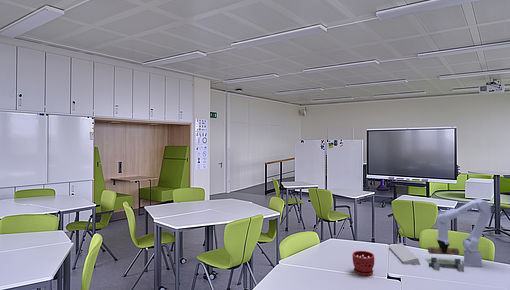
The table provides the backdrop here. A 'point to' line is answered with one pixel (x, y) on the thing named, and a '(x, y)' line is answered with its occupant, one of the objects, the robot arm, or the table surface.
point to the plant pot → (363, 262)
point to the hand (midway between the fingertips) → (443, 252)
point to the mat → (443, 261)
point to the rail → (439, 251)
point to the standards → (446, 265)
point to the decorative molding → (404, 254)
